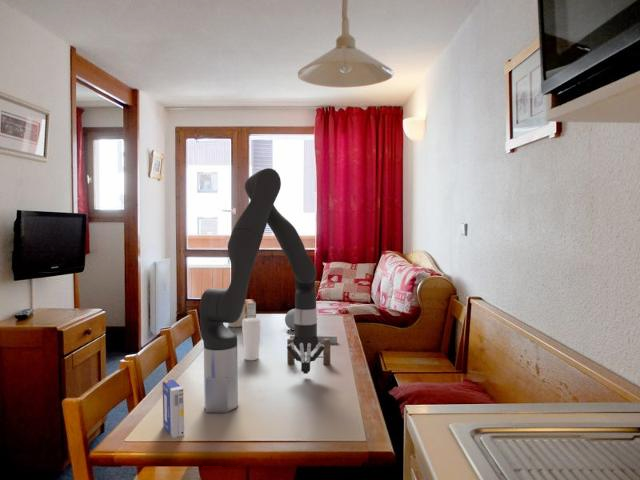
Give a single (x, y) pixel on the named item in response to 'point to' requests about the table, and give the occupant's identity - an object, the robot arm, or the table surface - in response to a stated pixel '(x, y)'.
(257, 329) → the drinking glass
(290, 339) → the post left
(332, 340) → the gray bar
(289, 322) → the decorative stone
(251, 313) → the candy box
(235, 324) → the travel mug
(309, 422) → the table surface
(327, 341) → the post right
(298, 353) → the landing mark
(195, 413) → the table surface
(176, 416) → the blue and white carton
